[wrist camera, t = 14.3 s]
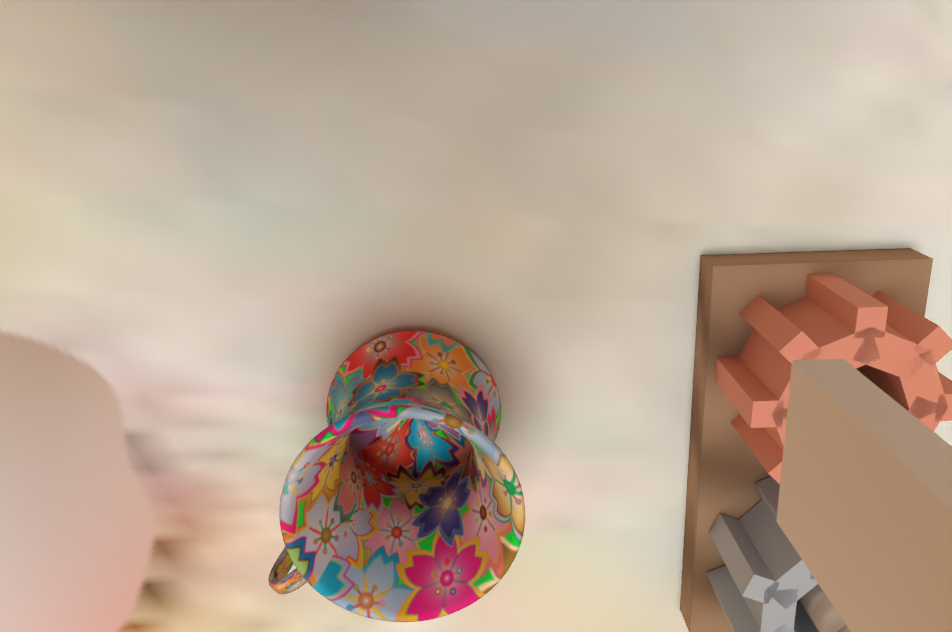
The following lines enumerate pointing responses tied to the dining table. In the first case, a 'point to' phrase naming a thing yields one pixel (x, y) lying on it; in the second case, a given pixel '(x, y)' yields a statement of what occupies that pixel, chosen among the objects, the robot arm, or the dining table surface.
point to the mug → (403, 486)
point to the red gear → (832, 337)
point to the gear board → (712, 434)
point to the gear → (760, 570)
